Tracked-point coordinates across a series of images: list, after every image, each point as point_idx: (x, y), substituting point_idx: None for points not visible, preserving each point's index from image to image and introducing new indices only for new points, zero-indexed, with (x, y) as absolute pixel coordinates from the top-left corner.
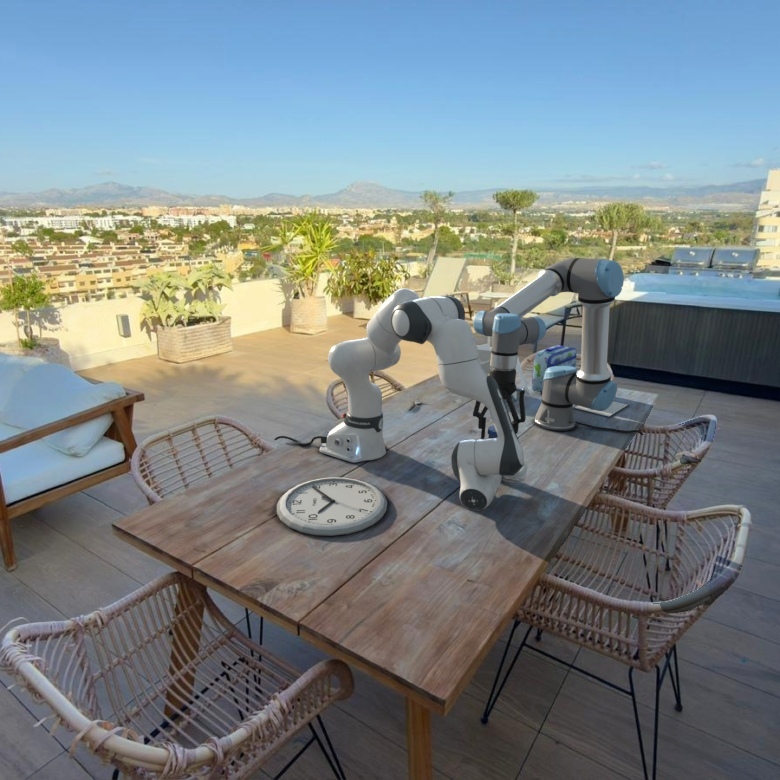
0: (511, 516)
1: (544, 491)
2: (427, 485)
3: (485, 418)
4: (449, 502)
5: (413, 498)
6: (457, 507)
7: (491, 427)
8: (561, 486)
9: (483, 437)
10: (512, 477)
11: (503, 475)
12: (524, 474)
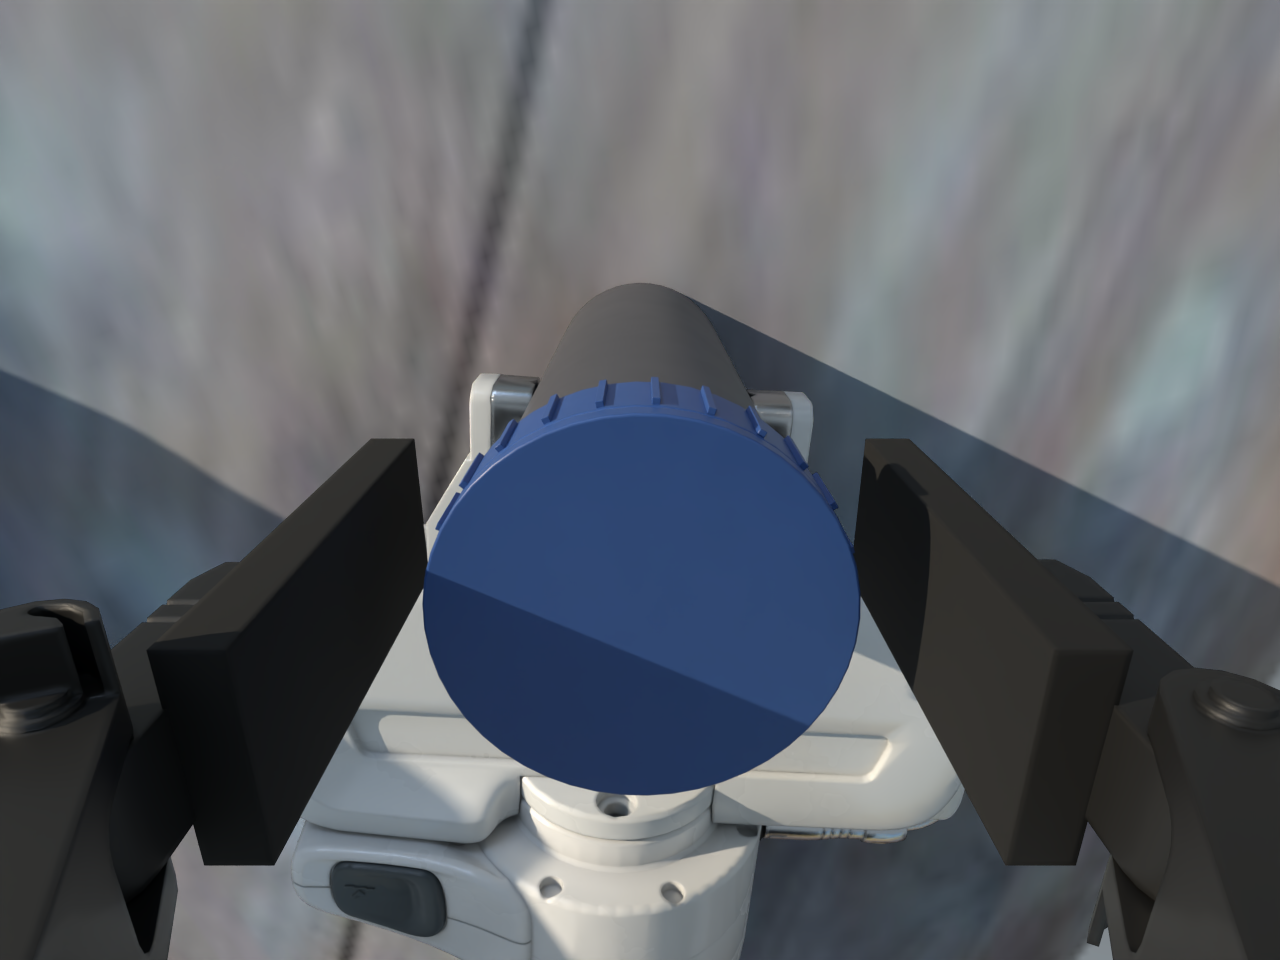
0: (819, 874)
1: (1081, 495)
2: None
3: (238, 734)
4: None
5: (183, 871)
6: None
7: (487, 599)
8: (1257, 351)
9: (414, 602)
10: (851, 831)
11: (769, 832)
12: None
